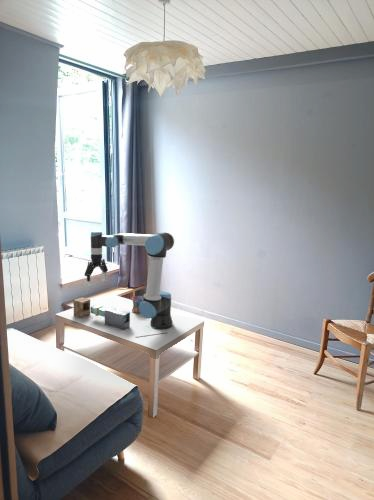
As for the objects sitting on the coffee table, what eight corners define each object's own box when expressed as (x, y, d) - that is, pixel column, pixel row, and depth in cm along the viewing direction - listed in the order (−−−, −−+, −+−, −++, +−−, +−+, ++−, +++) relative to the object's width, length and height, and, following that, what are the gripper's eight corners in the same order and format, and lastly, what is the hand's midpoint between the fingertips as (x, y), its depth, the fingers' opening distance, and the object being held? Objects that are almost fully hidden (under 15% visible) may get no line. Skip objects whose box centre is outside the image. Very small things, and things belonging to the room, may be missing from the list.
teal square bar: (127, 320, 247) (127, 312, 246) (122, 323, 242) (122, 315, 241) (95, 311, 260) (95, 303, 259) (89, 314, 255) (89, 306, 254)
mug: (136, 314, 270) (137, 300, 268) (128, 311, 276) (129, 297, 274) (149, 310, 279) (149, 297, 277) (141, 307, 285) (141, 294, 283)
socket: (90, 314, 265) (90, 299, 263) (82, 318, 258) (81, 302, 256) (82, 312, 269) (81, 297, 267) (73, 315, 262) (73, 300, 260)
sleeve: (129, 327, 247) (130, 312, 245) (123, 330, 242) (123, 315, 240) (111, 321, 255) (111, 307, 253) (104, 324, 249) (104, 310, 247)
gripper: (105, 250, 266) (104, 278, 270) (78, 255, 245) (79, 286, 249) (113, 251, 263) (112, 280, 267) (87, 257, 241) (87, 288, 245)
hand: (96, 283), depth 258 cm, fingers open, 13 cm apart
